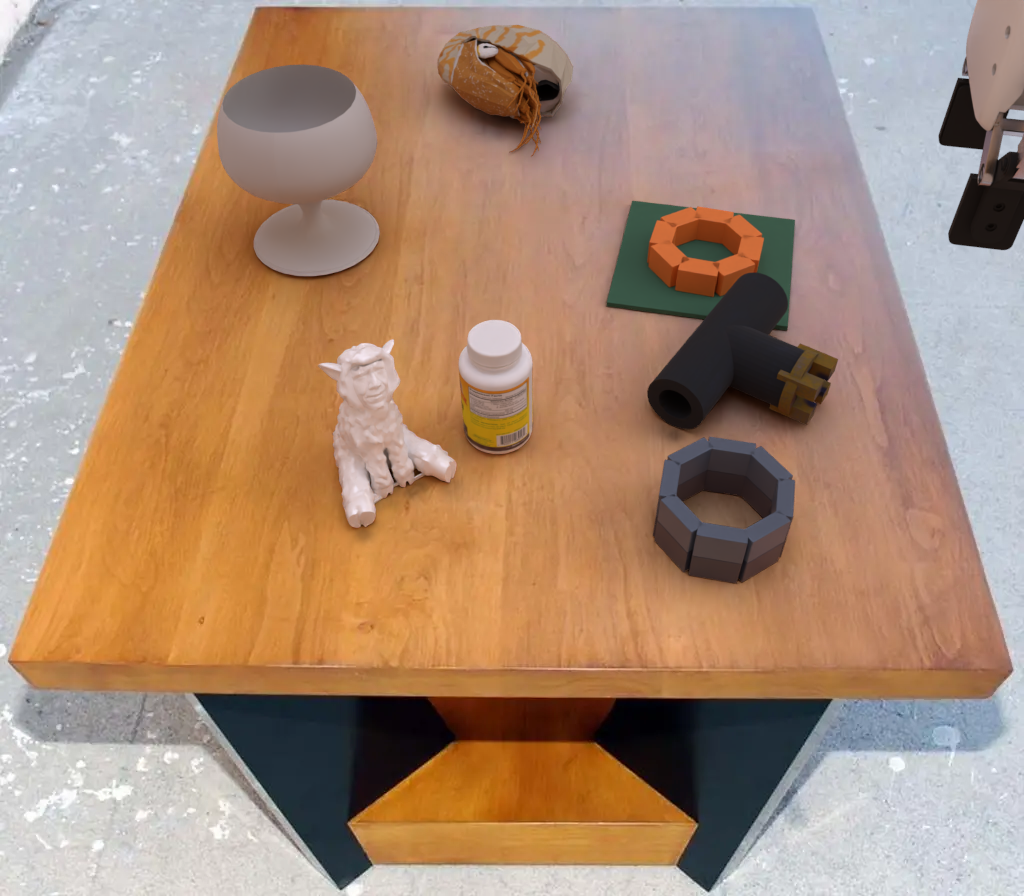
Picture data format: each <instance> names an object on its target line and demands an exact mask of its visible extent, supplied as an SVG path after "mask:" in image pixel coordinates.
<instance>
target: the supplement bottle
mask: <svg viewBox="0 0 1024 896" xmlns="http://www.w3.org/2000/svg"><path fill="white" fill-rule="evenodd" d="M466 341H467V343H466V344H467V345H466V346H464V348H463V349H462V351H461V352H460V354H459V357H458V364H457V365H458V377H459V389H460V399H461V401H460V402H461V414H462V426H463V432H464V435H465V437H466V440H467V441H468V442H469V443H470V445H472V446H473V447H474V448H475V449H477V450H479V451H481V452H483V453H487V454H490V455H505V454H509V453H512V452H514V451H517V450H519V449H520V448H522V447H523V446H524V445H525V444H526V443H527V442H528V441H529V439H530V438H531V435H532V433H533V428H534V427H533V426H534V409H533V408H534V398H533V395H534V388H533V387H534V386H533V385H534V384H533V383H534V380H533V379H534V378H533V377H534V373H533V371H534V367H533V366H534V363H533V357H532V356H533V355H532V354H531V351H530V350H529V348H528V347H527V345H526V344H524V343H523V342H522V341H523V340H522V334H521V331H520V330H519V329H518V327H517V326H515V325H514V324H513V323H511V322H509V321H506V320H502V319H488V320H484V321H482V322H479V323H477V324H475V325H474V326H473V327H472V328H471V329H470V330H469V332H468V334H467V339H466Z"/></svg>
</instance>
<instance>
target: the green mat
mask: <svg viewBox="0 0 1024 896" xmlns="http://www.w3.org/2000/svg"><path fill="white" fill-rule="evenodd" d="M689 207H690V206H683V205H674V204H666V203H658V202H657V203H656V202H650V201H649V202H648V201H639V200H631V204H630V207H629V211H628V215H627V219H626V224H625V227H624V231H623V236H622V239H621V244H620V247H619V251H618V255H617V258H616V259H617V260H616V263H615V267H614V270H613V271H614V272H613V275H612V279H611V283H610V287H609V291H608V296H607V298H606V305H605V306H606V307H610V308H617V309H625V310H633V311H639V312H647V313H653V314H654V313H655V314H662V315H669V316H677V317H683V318H684V317H685V318H691V319H698V320H704V319H705V318H706V317H707V316H708V314H709V313H710V312H711V311H712V310H713V308H714V307H715V306H716V305H717V304H718V302H719V301H720V300H721V299H722V298H723V296H724V295H723V296H719V295H718V294H717V293H716V292H715V293H714V297H710V296H704V295H699V294H693V293H688V292H682V291H676V290H675V287H676V285H675V286H673V287H668V286H667V285H666V284H665V283H664V282H663V281H662V280H661V279H660V278H659V277H658V276H657V275H656V274H655V273H654V272H653V271H652V270H651V269H650V268H649V263H647V259H648V250H649V242H650V239H651V236H652V233H653V230H654V227H655V224H656V221H657V220H658V221H660V220H661V217H663V216H666V215H669V214H672V213H675V212H678V211H680V210H683V209H686V208H689ZM692 208H693V209H694V210H695V211H696V209H697V207H692ZM737 215H741V216H742V217H743V218H744V219H745V220H747V221H748V222H749V223H750V224H751V225H752V226H754V227H755V228H756V229H757V230H758V231H759V232H761V233H762V238H764V241H763V246H762V251H761V256H760V260H759V265H758V269H757V273H761V274H765V275H767V276H769V277H771V278H772V279H774V280H775V281H776V282H777V283H779V284H780V286H781V287H782V288H783V290H784V291H785V293H786V296H787V299H788V308H787V311H786V313H785V314H784V315H783V317H782V318H781V319H780V321H779V322H778V323H777V325H776V326H775V327H774V329H773V330H779V331H788V327H789V318H790V317H789V316H790V304H791V303H790V302H791V286H792V275H793V274H792V273H793V271H792V270H793V257H794V245H795V244H794V242H795V230H796V229H795V228H796V219H792V218H785V217H784V218H783V217H775V216H768V215H767V216H766V215H758V214H752V213H751V214H749V213H741V212H734V215H733V217H734V216H737ZM676 247H677V248H678V249H679V250H680V251H681V252H682V253H683V254H684V255H686V256H687V257H689V258H694V259H700V260H706V261H712V262H717V261H719V260H722V259H725V258H728V257H730V256H733V255H734V254H733V253H732V252H731V251H729V250H728V249H727V248H726V247H725V246H724V245H723V244H720V243H714V242H708V241H702V240H696V239H695V240H693V241H690V242H687V243H684V244H682V245H679V246H676Z"/></svg>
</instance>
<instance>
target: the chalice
mask: <svg viewBox="0 0 1024 896" xmlns="http://www.w3.org/2000/svg"><path fill="white" fill-rule="evenodd" d="M216 122H217V123H216V138H217V148H218V156H219V160H220V162H221V165H222V167H223V169H224V171H225V173H226V174H227V176H228V177H229V178H230V180H231V181H233V183H234V184H236V186H237V187H239V188H240V189H242V191H243V190H244V192H246V193H248V194H249V195H251V196H253V197H254V198H258V199H261V200H264V201H268V202H273V203H278V204H282V205H289V206H287V207H283V208H282V209H280V210H278V211H276V212H274V213H273V214H271V215H270V216H269V217H268V218H267V219H266V220H264V221H263V222H262V224H260V226H259V227H258V229H257V230H256V231H255V235H254V238H253V249H254V252H255V254H256V257H257V258H258V259H259V260H260V261H261V262H262V264H264V265H265V266H266V267H268V268H270V269H271V270H274V271H276V272H279V273H282V274H285V275H291V276H295V277H317V276H325V275H331V274H333V273H338V272H341V271H344V270H347V269H348V268H351V267H353V266H356V265H357V264H358V263H360V262H361V261H363V260H364V259H366V258H367V257H368V256H369V255H370V254H371V253H372V252H373V251H374V249H375V248H376V246H377V244H378V243H379V238H380V234H381V232H380V225H379V224H378V222H377V219H376V218H375V216H373V215H372V214H371V212H369V211H368V210H367V209H364V208H363V207H361V206H359V205H357V204H354V203H351V202H348V201H344V200H337V199H330V198H334V197H336V196H338V195H340V194H342V193H343V192H345V191H347V190H348V189H351V188H352V187H354V186H355V185H356V184H357V183H358V182H360V180H362V179H363V178H364V176H365V175H366V174H367V172H368V171H369V169H370V168H371V166H372V164H373V163H374V160H375V157H376V153H377V149H378V133H377V129H376V126H375V122H374V119H373V114H372V112H371V110H370V107H369V105H368V103H367V101H366V98H365V96H364V95H363V94H362V92H361V91H360V89H359V88H358V86H357V85H356V84H355V83H354V82H353V80H352V79H350V77H349V76H347V75H345V74H343V73H342V72H340V71H338V70H336V69H333V68H330V67H326V66H321V65H315V64H287V65H279V66H274V67H273V66H272V67H270V68H266V69H262V70H258V71H257V72H254V73H251V74H249V75H247V76H245V77H243V78H242V79H240V80H238V81H237V82H236V83H235V84H233V85H232V86H231V87H230V88H229V89H228V90H227V92H226V93H225V94H224V96H223V99H222V101H221V105H220V108H219V111H218V115H217V121H216Z"/></svg>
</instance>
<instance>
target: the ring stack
mask: <svg viewBox="0 0 1024 896" xmlns="http://www.w3.org/2000/svg"><path fill="white" fill-rule="evenodd" d="M793 477H794V475H793V474H792V473H791V472H790V471H789V470H788V469H787V468H786V467H785V466H783V465H782V464H781V463H780V461H778V460H777V459H776V458H775V457H773V456H772V454H771V453H770V452H768V451H767V450H766V449H765V448H764V447H763V446H762V445H759V446H758V447H757V444H756V442H750V441H749V442H748V441H743V440H736V439H729V438H723V437H717V436H709V437H708V439H707V438H706V437H702V438H699V439H698V440H696V441H694V442H692V443H690V444H688V445H686V446H683V447H682V448H680V449H678V450H677V451H674V452H673V453H671V454H669V455H667V458H666V459H664V461H663V467H662V473H661V480H660V486H659V492H658V498H657V505H656V511H655V516H654V524H653V531H652V537H654V542H655V543H656V544H657V546H659V547H660V549H661V550H662V551H663V552H664V553H665V554H666V555H667V556H668V558H669V559H671V561H672V562H673V563H674V564H675V565H676V567H678V569H679V570H680V571H681V572H682V573H685V572H687V571H688V576H690V577H698V578H703V579H708V580H714V581H720V582H724V583H725V582H726V583H731V584H737V583H738V580H739V581H740V582H741V583H744V582H746V581H747V580H749V579H750V578H752V577H754V576H755V575H757V574H759V573H761V572H762V571H765V570H766V569H767V568H769V567H771V566H772V565H774V564H776V563H778V562H779V559H780V558H781V557H782V555H783V551H784V548H785V545H786V542H787V539H788V535H789V533H790V529H791V525H792V523H793V520H794V516H795V515H794V514H795V512H794V511H795V495H796V494H795V491H796V480H795V479H793ZM703 491H707V492H713V493H718V494H725V495H731V496H738V497H741V498H742V499H743V500H744V501H745V502H746V503H747V504H748V505H749V506H750V507H751V508H752V509H754V511H755V512H756V513H758V514H759V516H760V517H761V519H759V520H758V521H756V522H755V523H753V524H751V525H749V526H748V527H746V528H740V527H734V526H727V525H722V524H716V523H709V522H704V521H701V519H700V518H699V517H698V516H697V515H696V514H695V513H694V512H693V510H691V509H690V507H688V506H687V505H686V504H685V503H684V501H686V500H688V499H689V498H691V497H694V496H695V495H697V494H699V493H702V492H703Z"/></svg>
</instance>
